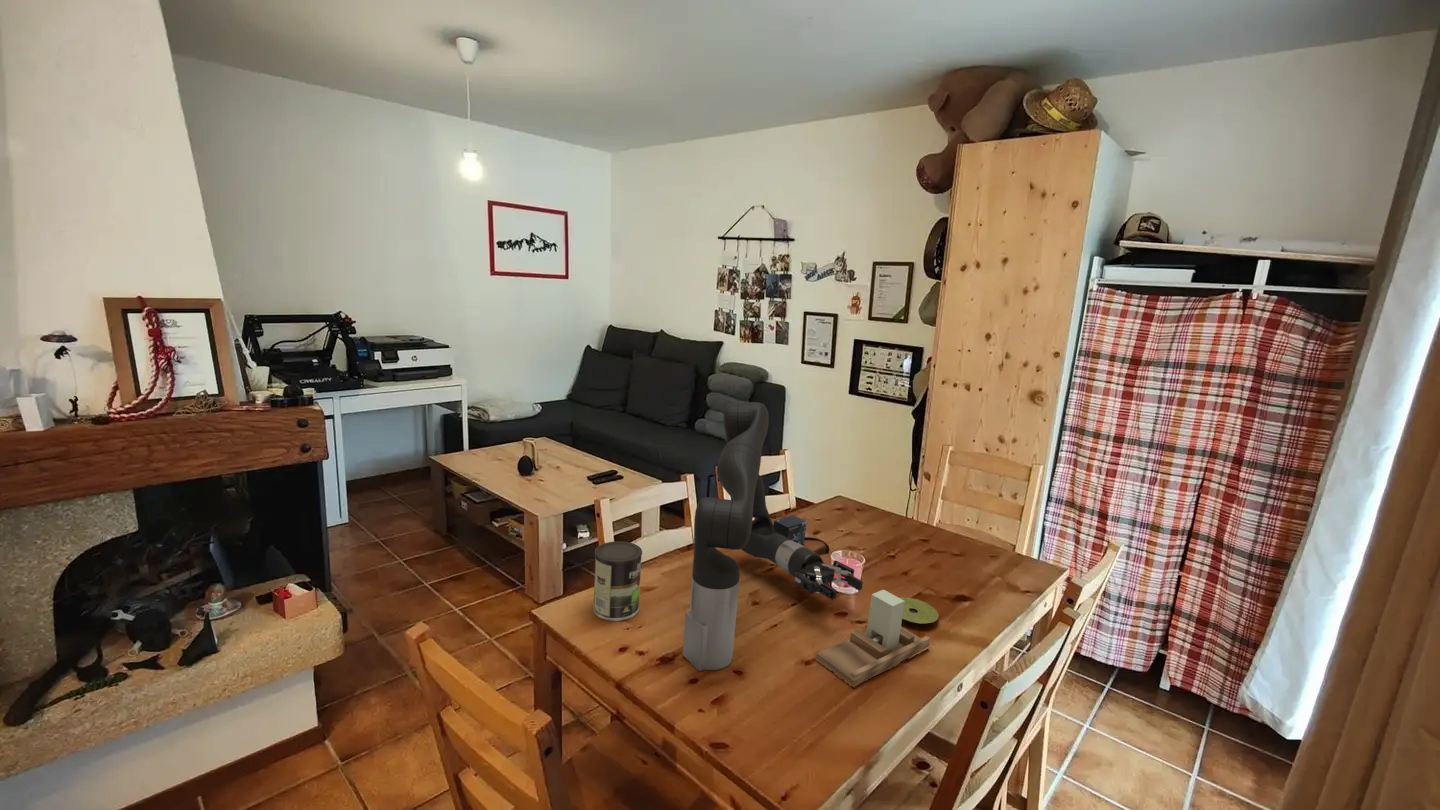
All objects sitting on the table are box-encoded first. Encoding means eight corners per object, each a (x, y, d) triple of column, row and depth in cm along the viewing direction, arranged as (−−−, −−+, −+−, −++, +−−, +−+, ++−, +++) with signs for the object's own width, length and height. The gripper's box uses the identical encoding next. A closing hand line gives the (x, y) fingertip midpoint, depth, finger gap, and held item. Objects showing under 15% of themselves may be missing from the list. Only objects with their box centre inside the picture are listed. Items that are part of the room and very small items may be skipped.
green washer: (877, 607, 146) (878, 600, 146) (916, 601, 150) (917, 594, 150) (907, 633, 136) (908, 626, 136) (947, 626, 140) (949, 619, 140)
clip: (886, 652, 126) (892, 606, 124) (865, 639, 130) (871, 594, 128) (897, 646, 128) (904, 601, 126) (877, 633, 133) (883, 589, 130)
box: (784, 563, 165) (788, 526, 163) (769, 555, 169) (773, 519, 167) (803, 556, 170) (807, 520, 168) (788, 548, 175) (792, 513, 172)
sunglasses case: (769, 533, 184) (780, 513, 184) (784, 541, 188) (794, 522, 188) (806, 558, 169) (818, 537, 169) (821, 566, 173) (833, 546, 173)
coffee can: (645, 601, 141) (648, 544, 138) (630, 625, 131) (632, 564, 129) (603, 593, 143) (605, 537, 140) (585, 616, 133) (587, 557, 130)
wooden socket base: (853, 688, 116) (855, 671, 116) (815, 660, 124) (817, 644, 123) (928, 649, 131) (930, 635, 130) (890, 626, 138) (892, 612, 138)
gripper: (777, 552, 143) (828, 583, 131) (820, 540, 152) (871, 568, 139) (774, 582, 145) (824, 614, 132) (817, 568, 153) (867, 598, 141)
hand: (848, 590), depth 136 cm, fingers open, 8 cm apart
